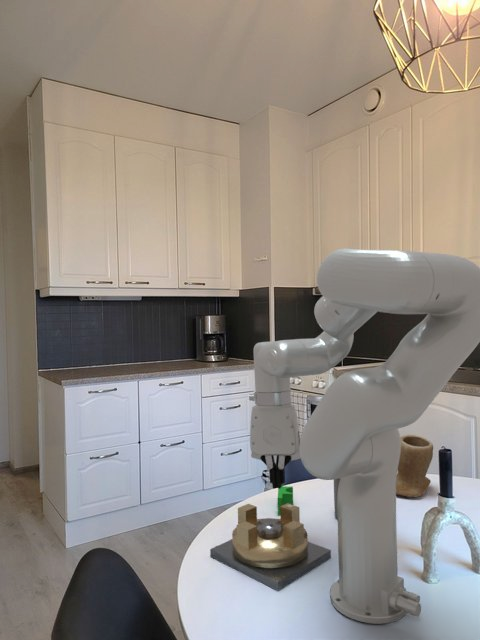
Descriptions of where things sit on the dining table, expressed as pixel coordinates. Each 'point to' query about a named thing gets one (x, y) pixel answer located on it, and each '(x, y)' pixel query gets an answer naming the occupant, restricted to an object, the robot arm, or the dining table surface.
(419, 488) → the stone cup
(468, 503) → the dining table surface
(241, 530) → the ring nut
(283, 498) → the pipe clamp
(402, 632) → the dining table surface
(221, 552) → the mounting plate
